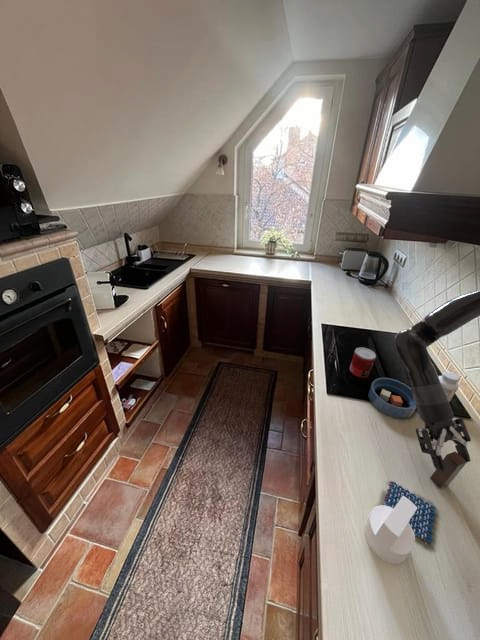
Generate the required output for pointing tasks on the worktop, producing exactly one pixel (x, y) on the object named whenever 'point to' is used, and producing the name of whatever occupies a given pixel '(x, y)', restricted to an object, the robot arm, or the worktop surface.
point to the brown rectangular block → (448, 470)
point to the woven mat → (424, 512)
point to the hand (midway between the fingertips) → (453, 465)
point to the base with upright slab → (391, 531)
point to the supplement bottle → (449, 383)
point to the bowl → (397, 388)
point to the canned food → (362, 362)
